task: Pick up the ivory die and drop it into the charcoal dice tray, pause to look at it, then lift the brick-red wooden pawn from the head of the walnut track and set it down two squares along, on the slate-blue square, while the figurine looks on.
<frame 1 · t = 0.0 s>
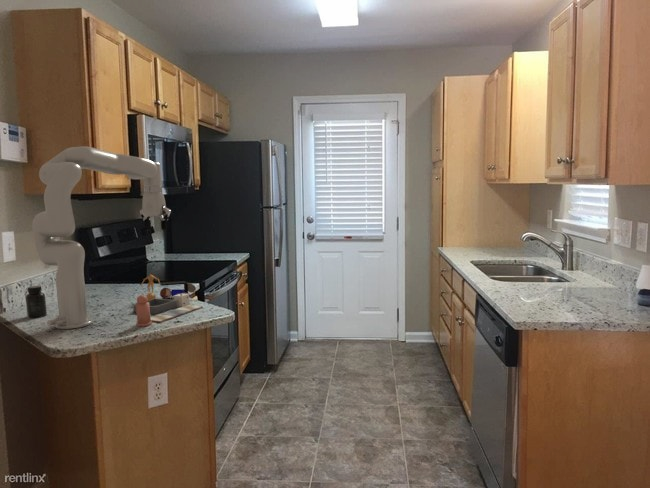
hand: (156, 229, 231), 31 cm above the countertop, tool pointing down, fingers open, 9 cm apart
track: (174, 314, 205), on the countertop
tray: (155, 309, 214), on the countertop
die: (181, 305, 220), on the countertop
pawn: (144, 324, 191), on the countertop
figurine: (151, 301, 229), on the countertop
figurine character: (177, 297, 237), on the countertop
supplement bottle: (37, 316, 210), on the countertop
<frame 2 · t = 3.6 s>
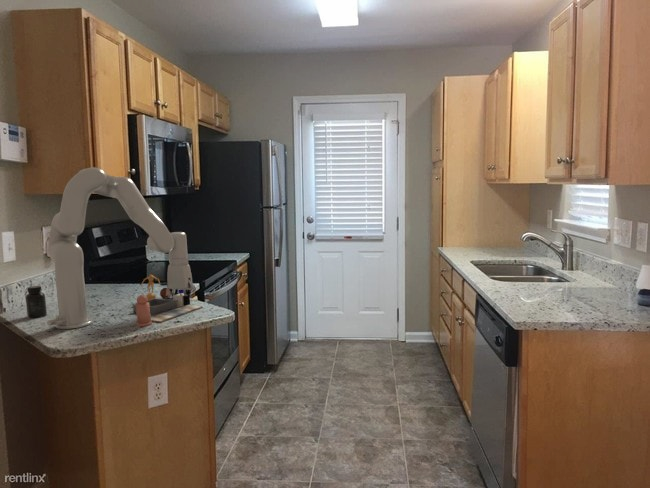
hand: (182, 303, 220), 0 cm above the countertop, tool pointing down, fingers closed on die, 4 cm apart
die: (181, 305, 220), on the countertop, touching gripper
everything else where it was.
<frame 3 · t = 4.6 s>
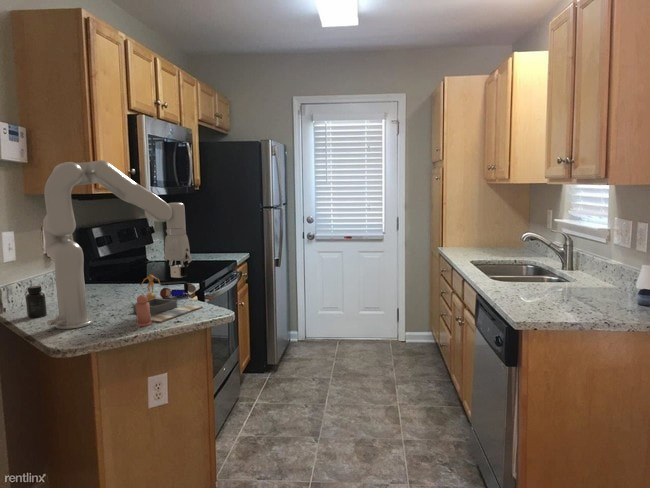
hand: (179, 275, 219), 13 cm above the countertop, tool pointing down, fingers closed on die, 4 cm apart
die: (178, 276, 219), point 12 cm above the countertop, touching gripper
everything else where it was.
when the fingers open (11 cm above the countertop, at t = 5.7 s): die drops 10 cm, resting on tray.
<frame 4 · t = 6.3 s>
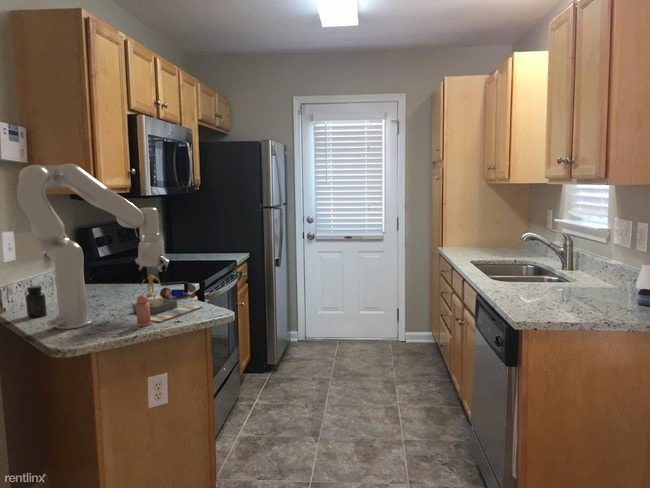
hand: (153, 280, 212), 12 cm above the countertop, tool pointing down, fingers open, 9 cm apart
die: (155, 308, 214), resting on tray
everything else where it was.
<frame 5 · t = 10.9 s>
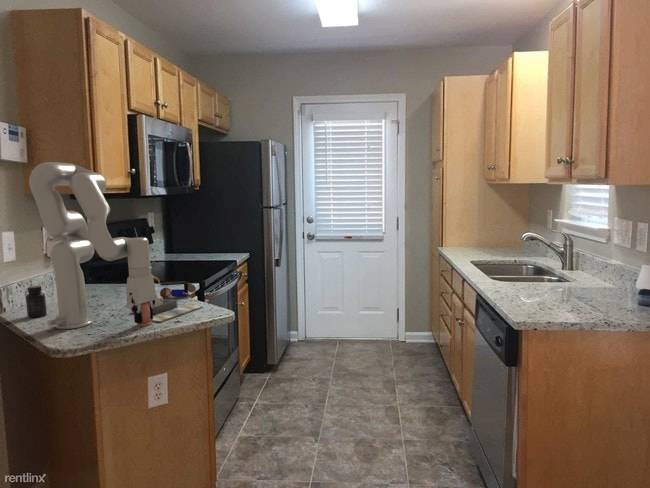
hand: (144, 320, 191), 2 cm above the countertop, tool pointing down, fingers closed on pawn, 4 cm apart
pawn: (144, 324, 191), on the countertop, touching gripper
everything else where it was.
when the fingers open (3 cm above the countertop, at t = 16.3 s): pawn stays where it is, resting on track.
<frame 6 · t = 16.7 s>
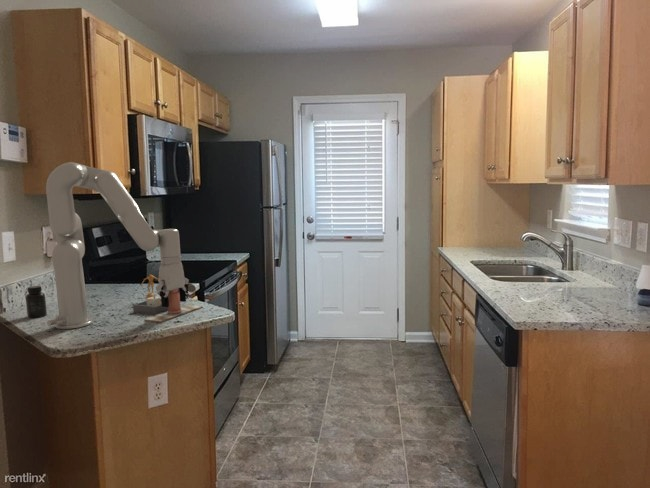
hand: (174, 304, 205), 4 cm above the countertop, tool pointing down, fingers open, 9 cm apart
pawn: (174, 312, 205), point 1 cm above the countertop, touching track
everything else where it was.
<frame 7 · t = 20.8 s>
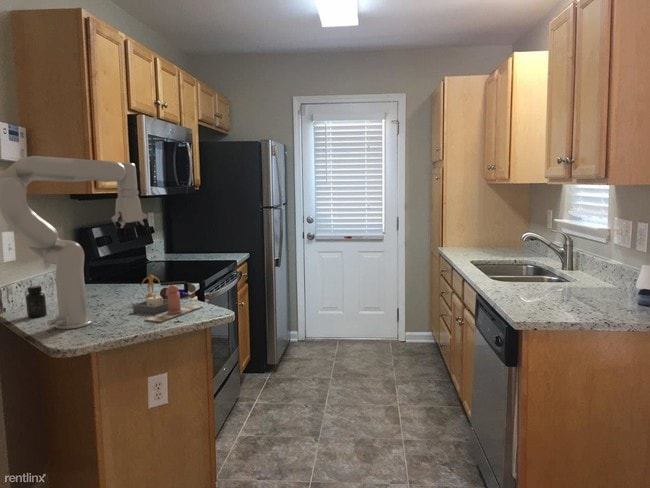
hand: (131, 236, 211), 30 cm above the countertop, tool pointing down, fingers open, 9 cm apart
nothing on the countertop moved.
at the end: pawn inside the target area (0.0 cm from its centre), point 0.6 cm above the countertop; pawn tilted 0°; die inside the target area on the tray (0.1 cm from its centre), point 0.5 cm above the tray's base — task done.
